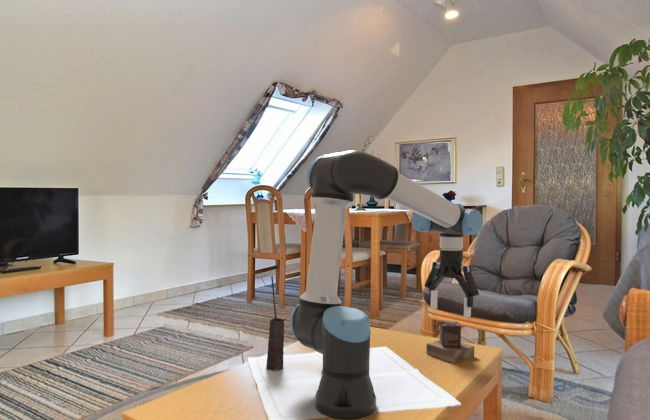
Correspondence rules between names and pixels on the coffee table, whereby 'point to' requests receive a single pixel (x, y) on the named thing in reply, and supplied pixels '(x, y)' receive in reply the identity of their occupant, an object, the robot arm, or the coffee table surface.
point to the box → (450, 334)
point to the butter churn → (275, 341)
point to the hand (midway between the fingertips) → (449, 312)
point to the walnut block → (450, 352)
